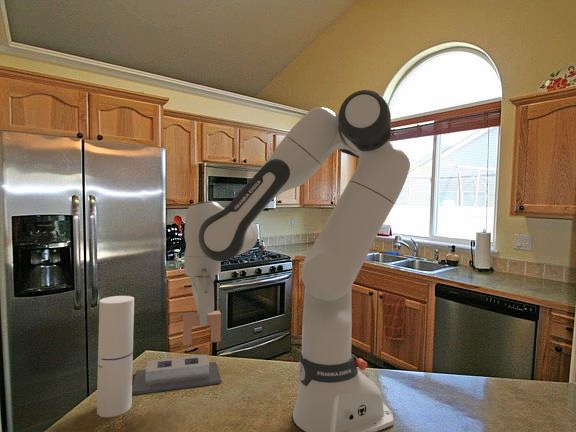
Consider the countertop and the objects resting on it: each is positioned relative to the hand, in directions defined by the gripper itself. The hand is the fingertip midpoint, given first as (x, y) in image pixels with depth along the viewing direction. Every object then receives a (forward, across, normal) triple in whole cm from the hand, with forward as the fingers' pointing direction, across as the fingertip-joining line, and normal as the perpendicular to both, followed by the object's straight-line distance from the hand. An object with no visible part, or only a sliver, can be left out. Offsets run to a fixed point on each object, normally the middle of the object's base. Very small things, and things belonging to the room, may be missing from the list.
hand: (202, 321), depth 85 cm
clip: (+5, 0, 0) cm, 5 cm away
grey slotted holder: (+18, +10, +6) cm, 21 cm away
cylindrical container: (+18, -1, +20) cm, 27 cm away
